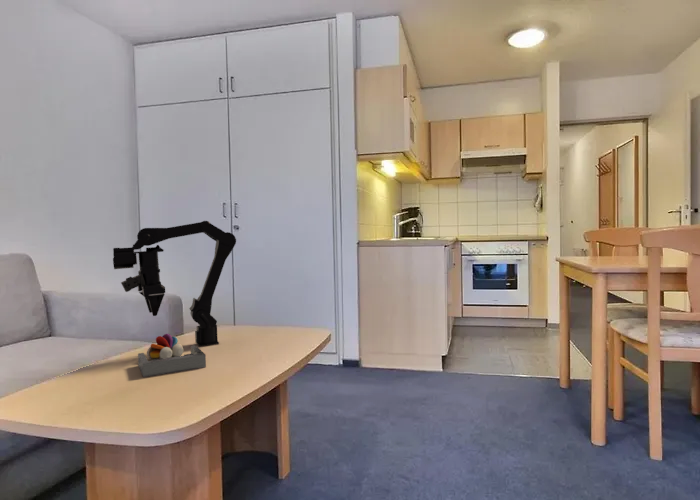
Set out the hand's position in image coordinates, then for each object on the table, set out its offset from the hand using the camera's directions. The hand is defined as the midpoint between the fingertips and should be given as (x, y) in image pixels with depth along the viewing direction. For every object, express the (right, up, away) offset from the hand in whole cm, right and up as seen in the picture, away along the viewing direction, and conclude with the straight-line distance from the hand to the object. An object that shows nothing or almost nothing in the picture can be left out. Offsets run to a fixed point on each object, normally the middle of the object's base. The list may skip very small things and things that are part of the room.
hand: (153, 314), depth 149 cm
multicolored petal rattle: (+8, -12, -10) cm, 18 cm away
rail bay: (+14, -12, -21) cm, 28 cm away
